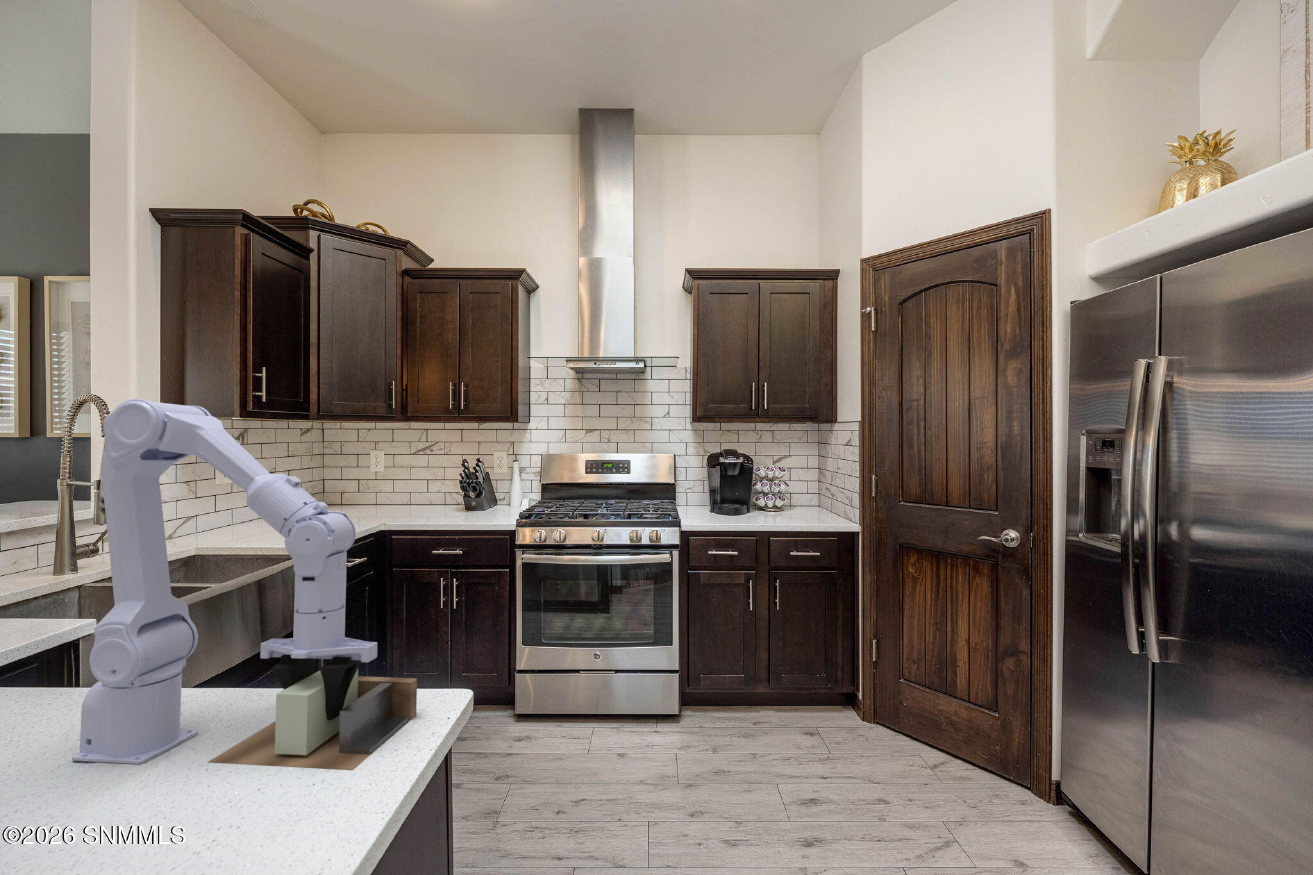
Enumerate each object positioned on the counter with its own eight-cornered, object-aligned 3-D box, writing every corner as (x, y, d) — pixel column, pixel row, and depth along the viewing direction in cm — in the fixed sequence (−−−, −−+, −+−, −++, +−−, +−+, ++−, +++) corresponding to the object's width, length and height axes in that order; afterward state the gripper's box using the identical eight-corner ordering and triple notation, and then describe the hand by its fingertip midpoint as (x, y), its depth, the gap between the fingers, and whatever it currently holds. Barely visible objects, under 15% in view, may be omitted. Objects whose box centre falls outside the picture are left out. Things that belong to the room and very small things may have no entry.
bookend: (339, 752, 70) (339, 710, 71) (380, 720, 79) (381, 682, 80) (369, 754, 70) (370, 712, 70) (408, 721, 79) (408, 683, 79)
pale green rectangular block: (329, 716, 79) (330, 664, 80) (357, 718, 79) (358, 665, 79) (274, 753, 69) (276, 693, 70) (306, 755, 69) (307, 695, 69)
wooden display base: (207, 770, 68) (208, 718, 68) (294, 716, 83) (296, 673, 83) (352, 778, 67) (353, 725, 67) (416, 722, 81) (417, 678, 81)
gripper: (242, 614, 71) (239, 727, 71) (354, 617, 70) (351, 733, 69) (284, 600, 78) (281, 703, 78) (387, 603, 77) (384, 708, 76)
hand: (317, 715), depth 74 cm, fingers closed on pale green rectangular block, 4 cm apart
